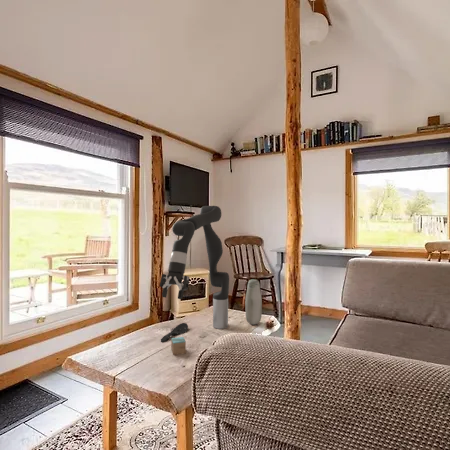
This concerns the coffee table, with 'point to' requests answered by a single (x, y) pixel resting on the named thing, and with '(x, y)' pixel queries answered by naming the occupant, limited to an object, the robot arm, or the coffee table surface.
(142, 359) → the coffee table surface
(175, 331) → the hairbrush
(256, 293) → the grey green rounded cylinder
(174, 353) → the two tone block
